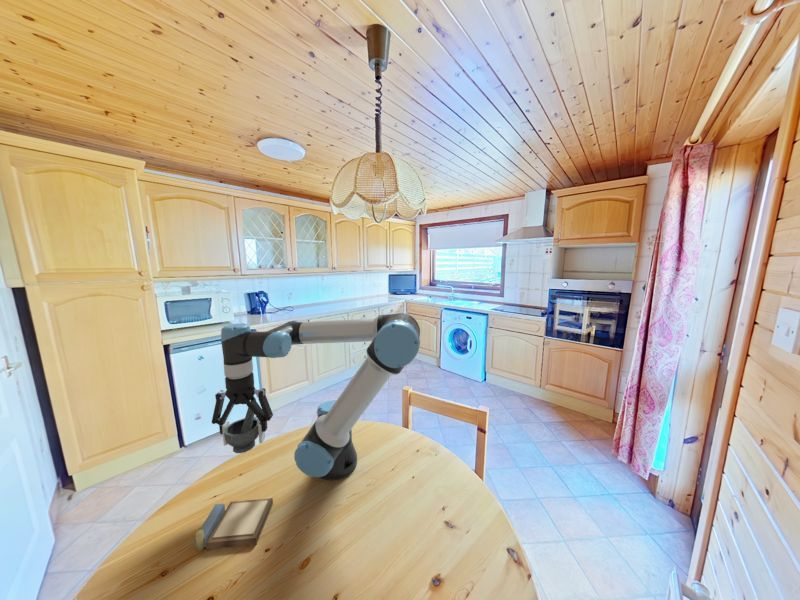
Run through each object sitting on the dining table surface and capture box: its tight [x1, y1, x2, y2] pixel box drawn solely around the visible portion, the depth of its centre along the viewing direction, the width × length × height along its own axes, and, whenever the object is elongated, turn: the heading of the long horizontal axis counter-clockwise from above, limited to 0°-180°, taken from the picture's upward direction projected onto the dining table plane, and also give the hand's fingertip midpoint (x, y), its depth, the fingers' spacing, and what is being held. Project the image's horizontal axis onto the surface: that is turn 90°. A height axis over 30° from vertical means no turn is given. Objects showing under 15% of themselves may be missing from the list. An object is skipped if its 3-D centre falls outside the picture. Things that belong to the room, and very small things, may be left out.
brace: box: [194, 502, 226, 552], centre depth 73 cm, size 11×2×4 cm, turn 9°
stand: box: [206, 497, 274, 551], centre depth 75 cm, size 12×12×2 cm
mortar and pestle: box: [224, 406, 260, 454], centre depth 85 cm, size 11×9×12 cm
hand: (245, 441), depth 85 cm, fingers closed on mortar and pestle, 10 cm apart
